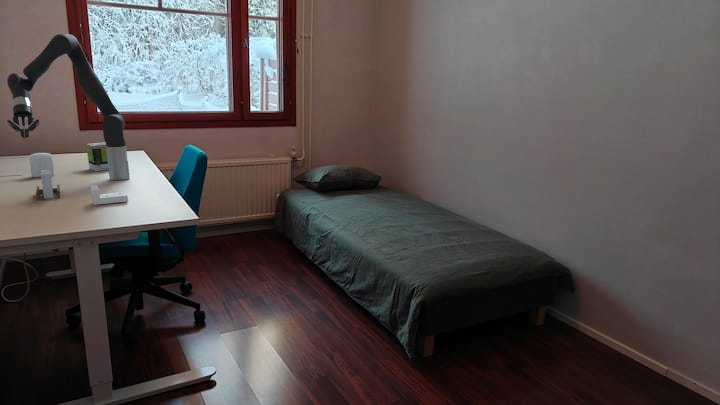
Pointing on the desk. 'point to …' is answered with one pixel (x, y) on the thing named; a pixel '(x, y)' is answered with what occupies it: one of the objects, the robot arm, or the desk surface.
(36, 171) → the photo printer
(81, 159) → the desk surface
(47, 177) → the grey rectangular block
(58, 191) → the walnut box
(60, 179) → the desk surface
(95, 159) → the tea box
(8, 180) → the desk surface
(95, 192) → the bracket
